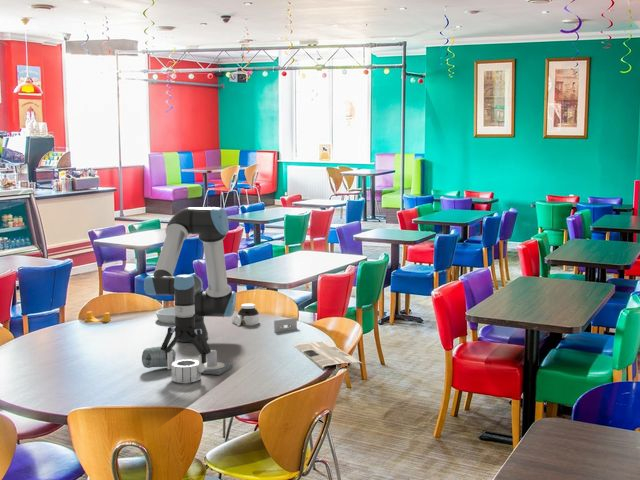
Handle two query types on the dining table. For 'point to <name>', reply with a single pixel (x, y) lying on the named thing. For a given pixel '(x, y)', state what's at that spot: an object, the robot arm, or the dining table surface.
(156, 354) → the spool
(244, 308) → the spread jar
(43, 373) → the dining table surface
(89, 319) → the pipe clamp
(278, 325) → the cassette
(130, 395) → the dining table surface
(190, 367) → the ring
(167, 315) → the serving bowl
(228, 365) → the post block
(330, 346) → the newspaper
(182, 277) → the robot arm
